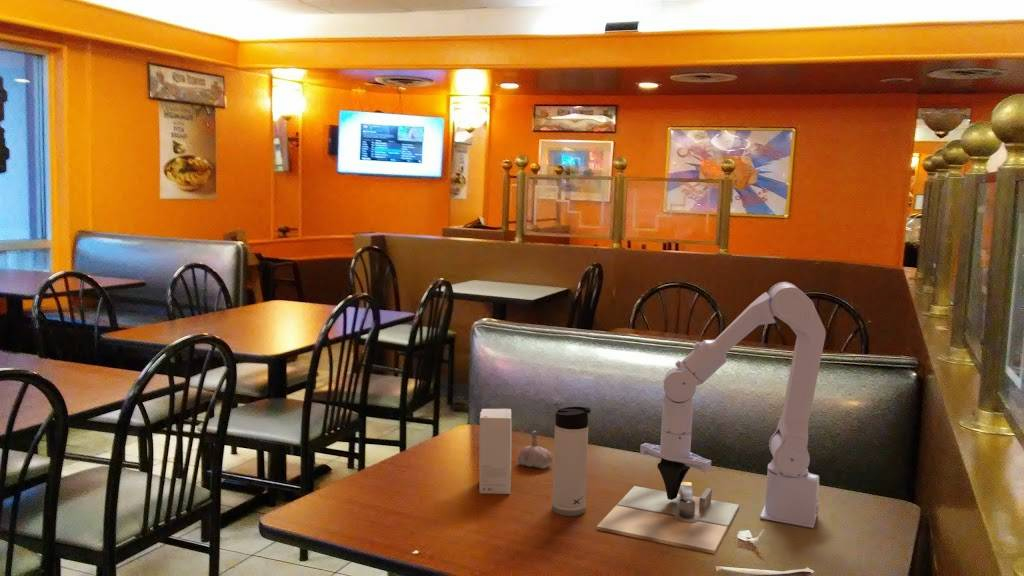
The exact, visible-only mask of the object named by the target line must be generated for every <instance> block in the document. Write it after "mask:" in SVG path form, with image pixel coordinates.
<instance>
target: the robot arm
mask: <svg viewBox="0 0 1024 576" xmlns="http://www.w3.org/2000/svg"><path fill="white" fill-rule="evenodd" d="M774 317H776V318H778V319H779V320H780V321H782V322H783V323H785V324H787V325H788V326H789V327H790V329H791V330H792V331H793V332H794V334H795V335H796V338H795V344H794V349H793V354H792V360H791V365H790V370H789V376H788V381H787V386H786V392H785V397H784V402H783V407H782V411H781V416H780V418H779V421H778V423H777V427H776V430H775V431H774V433H773V434H772V435H771V437H770V439H769V441H768V447H769V448H768V449H769V452H770V453H771V455H772V459H771V461H770V462H769V463H768V464H767V471H766V472H767V475H766V478H767V479H766V487H765V488H766V489H765V490H766V491H765V504H764V506H763V508H762V511H761V513H760V515H759V516H760V517H759V518H760V519H761V520H767V521H768V520H769V521H773V522H779V523H783V524H788V525H794V526H800V527H805V528H811V529H813V528H814V527H815V524H816V520H817V517H818V515H819V510H820V508H819V507H820V506H819V492H820V491H819V490H820V475H818V474H815V473H811V472H809V469H808V468H809V466H810V464H811V463H810V462H811V461H810V460H811V457H810V453H809V451H808V445H809V444H808V443H809V422H810V418H811V417H810V416H811V411H812V406H813V402H814V397H815V391H816V387H817V382H818V376H819V371H820V366H821V360H822V357H823V356H822V355H823V350H824V346H825V341H826V328H825V326H824V324H823V322H822V320H821V317H820V315H819V314H818V311H817V309H816V307H815V304H814V301H813V300H812V299H810V297H809V296H807V294H806V293H805V292H804V291H802V289H800V288H799V287H797V286H796V285H795V284H793V283H791V282H788V281H781V282H778V283H776V284H774V285H772V286H771V287H770V288H769V290H768V291H765V292H763V293H762V294H761V295H759V296H758V297H757V298H756V299H755V300H754V301H752V302H751V303H750V304H749V305H748V306H747V307H746V308H744V310H743V311H742V312H741V313H740V314H739V315H737V316H736V318H735V319H734V320H733V321H732V322H731V323H730V324H729V325H728V326H727V327H725V329H724V330H723V331H721V333H720V334H719V335H718V336H717V337H716V338H714V339H704V340H702V342H701V343H700V342H699V341H697V342H696V343H695V344H694V345H693V346H692V347H693V350H692V351H691V352H690V353H689V354H687V355H686V356H685V357H684V358H683V359H682V360H681V361H680V360H677V361H676V362H675V367H672V368H671V369H669V370H668V371H667V372H666V374H665V376H664V379H663V391H664V396H663V403H664V404H663V405H662V410H661V411H662V414H661V426H660V427H661V428H660V429H661V430H660V431H661V432H660V445H659V444H651V443H648V442H645V443H642V444H640V445H639V447H640V449H639V450H640V451H639V454H640V455H643V456H646V455H647V456H650V457H652V458H653V457H654V458H658V459H660V462H657V469H658V471H659V472H660V475H661V477H662V480H663V483H664V487H665V492H667V498H668V499H669V500H673V499H675V498H677V495H678V494H679V492H680V485H681V483H682V482H684V479H685V477H686V475H687V474H688V472H689V471H690V470H691V468H693V469H696V470H700V471H701V472H703V473H707V472H710V471H711V470H712V460H711V459H707V458H704V457H702V456H700V455H698V454H695V453H693V452H691V446H692V429H693V428H692V427H693V413H694V409H693V406H692V404H693V397H694V396H695V393H696V389H697V386H700V385H703V384H704V383H705V382H706V381H707V380H708V379H710V377H712V376H713V375H714V374H715V373H716V372H717V371H718V370H720V368H722V366H724V364H726V362H727V352H728V351H730V350H731V349H732V348H733V347H734V346H736V345H737V344H738V343H740V342H741V341H742V340H743V339H744V338H746V337H747V336H748V335H750V333H751V332H753V331H754V330H755V329H756V328H757V327H758V326H762V325H771V324H776V320H775V318H774Z"/></svg>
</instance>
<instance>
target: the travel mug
mask: <svg viewBox="0 0 1024 576" xmlns="http://www.w3.org/2000/svg"><path fill="white" fill-rule="evenodd" d="M591 411H592V410H591V407H585V406H568V407H562V408H559V409H558V410H557V411H556V412H555V416H554V417H555V423H554V442H553V446H554V448H553V449H554V450H553V479H552V511H553V512H554V513H555V514H556V515H557V514H558V515H560V516H565V517H577V516H581V515H583V514H584V513H585V512H586V505H587V504H586V502H587V501H586V498H587V476H588V475H587V472H588V468H587V467H588V446H589V445H588V442H589V414H591V413H592V412H591Z"/></svg>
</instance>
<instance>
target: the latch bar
mask: <svg viewBox="0 0 1024 576" xmlns="http://www.w3.org/2000/svg"><path fill="white" fill-rule="evenodd" d="M692 484H693V483H692V482H691V481H690V482H689V481H682V483H681V485H680V488H679V491H678V494H680V505H679V515H680V516H681V517H684V518H693V517H694V516H695V501H694V500H693V496H694V495H693V485H692Z"/></svg>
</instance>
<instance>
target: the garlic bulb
mask: <svg viewBox="0 0 1024 576" xmlns="http://www.w3.org/2000/svg"><path fill="white" fill-rule="evenodd" d="M531 442H532V443H531V445H528V446H527V445H526V446H525V447H523V448H522V449H521V450H520V452H519V454H518V455H517V461H518V463H519V464H520V465H521V466H526V467H529V468H532V467H533V468H538V469H541V470H542V469H543V470H544V469H547V468H548V467H550V466H551V465H552V464H553V462H554V456H553V455H552V453H551V452H550V451H549V450H548V449H547V448H544V447H542V446H539V445H538V438H537V431H536V430H533V431H532V433H531Z"/></svg>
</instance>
